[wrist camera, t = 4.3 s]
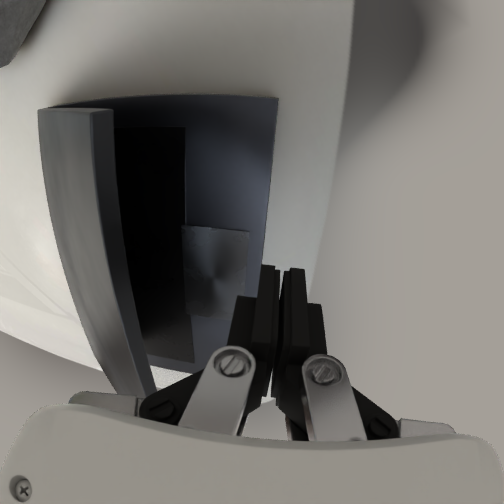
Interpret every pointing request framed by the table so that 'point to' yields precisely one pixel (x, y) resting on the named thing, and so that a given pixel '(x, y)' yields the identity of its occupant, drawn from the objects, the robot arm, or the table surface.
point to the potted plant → (16, 25)
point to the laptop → (191, 213)
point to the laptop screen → (93, 239)
